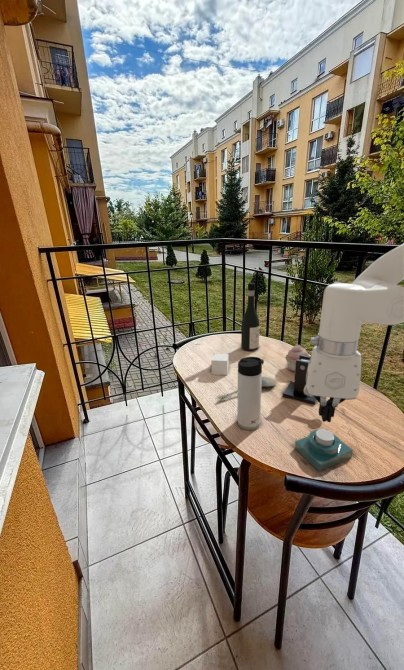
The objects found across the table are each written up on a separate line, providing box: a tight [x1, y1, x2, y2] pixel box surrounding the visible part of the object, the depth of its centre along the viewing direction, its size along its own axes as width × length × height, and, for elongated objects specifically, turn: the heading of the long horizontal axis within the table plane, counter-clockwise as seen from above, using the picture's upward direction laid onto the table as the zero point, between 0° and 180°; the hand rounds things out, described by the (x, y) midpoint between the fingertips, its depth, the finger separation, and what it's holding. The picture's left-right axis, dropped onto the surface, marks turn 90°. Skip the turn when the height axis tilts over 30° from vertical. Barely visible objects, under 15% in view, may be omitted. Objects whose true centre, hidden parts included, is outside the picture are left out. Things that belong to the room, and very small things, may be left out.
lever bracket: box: [282, 355, 318, 406], centre depth 90 cm, size 10×9×13 cm
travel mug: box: [237, 356, 265, 431], centre depth 76 cm, size 6×7×20 cm
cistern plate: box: [294, 429, 354, 472], centre depth 67 cm, size 10×8×4 cm
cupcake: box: [284, 344, 310, 373], centre depth 107 cm, size 9×9×10 cm
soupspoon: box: [218, 376, 276, 402], centre depth 94 cm, size 22×3×7 cm
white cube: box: [210, 353, 230, 376], centre depth 108 cm, size 6×6×6 cm
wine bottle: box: [240, 282, 261, 352], centre depth 124 cm, size 8×8×30 cm
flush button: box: [315, 428, 335, 446], centre depth 66 cm, size 4×4×2 cm
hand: (325, 418), depth 64 cm, fingers closed
